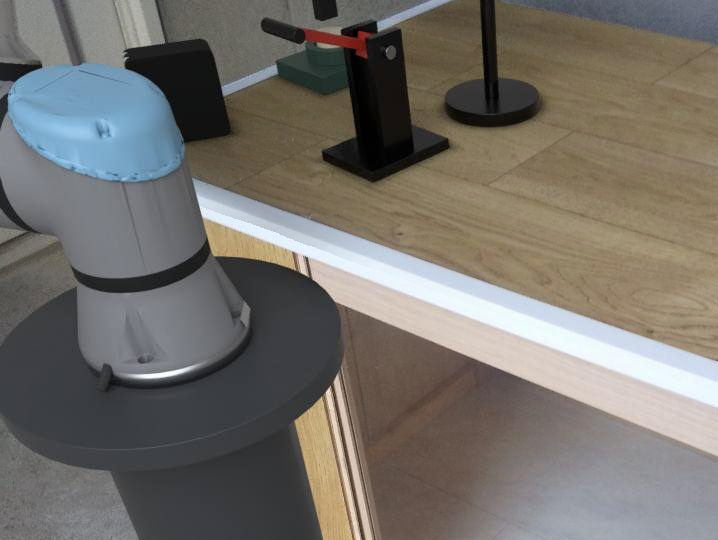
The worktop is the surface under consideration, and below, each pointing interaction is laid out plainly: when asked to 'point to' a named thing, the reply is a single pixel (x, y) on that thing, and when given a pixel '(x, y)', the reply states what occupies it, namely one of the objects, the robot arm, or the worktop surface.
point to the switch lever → (314, 36)
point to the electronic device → (185, 84)
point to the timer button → (329, 30)
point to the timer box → (315, 68)
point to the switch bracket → (380, 110)
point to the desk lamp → (491, 87)
